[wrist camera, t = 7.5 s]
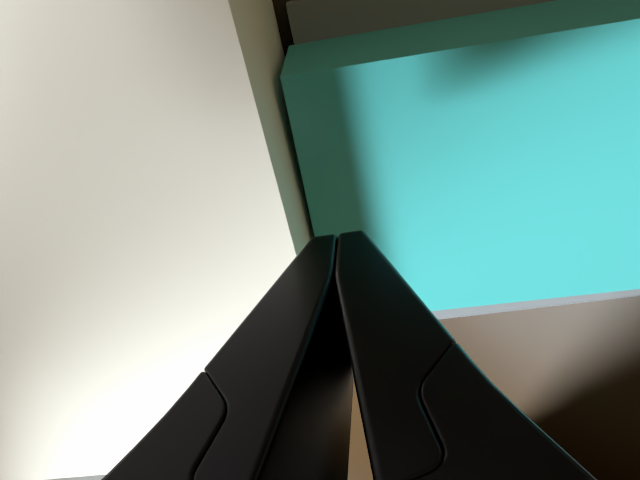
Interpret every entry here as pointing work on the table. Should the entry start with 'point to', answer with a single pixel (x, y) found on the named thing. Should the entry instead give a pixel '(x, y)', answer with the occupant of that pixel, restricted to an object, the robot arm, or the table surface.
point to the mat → (395, 11)
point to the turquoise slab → (480, 149)
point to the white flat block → (132, 213)
